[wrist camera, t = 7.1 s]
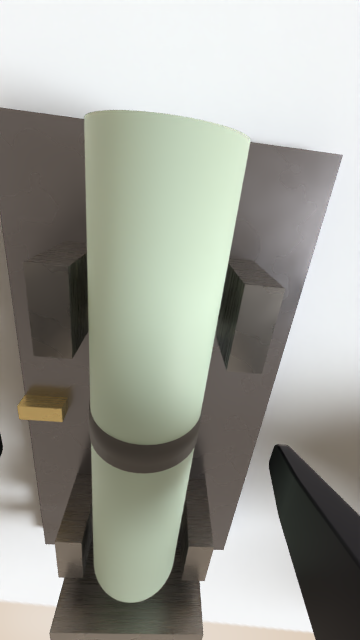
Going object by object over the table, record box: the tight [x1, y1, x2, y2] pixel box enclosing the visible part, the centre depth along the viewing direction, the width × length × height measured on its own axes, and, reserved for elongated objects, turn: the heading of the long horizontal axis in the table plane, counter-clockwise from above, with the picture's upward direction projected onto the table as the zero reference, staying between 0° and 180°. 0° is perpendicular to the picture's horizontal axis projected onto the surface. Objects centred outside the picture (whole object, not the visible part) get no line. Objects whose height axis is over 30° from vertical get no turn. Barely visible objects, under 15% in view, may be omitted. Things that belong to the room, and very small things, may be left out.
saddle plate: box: [0, 108, 343, 640], centre depth 13 cm, size 12×24×6 cm, turn 174°
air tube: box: [84, 110, 250, 603], centre depth 11 cm, size 4×18×4 cm, turn 174°
